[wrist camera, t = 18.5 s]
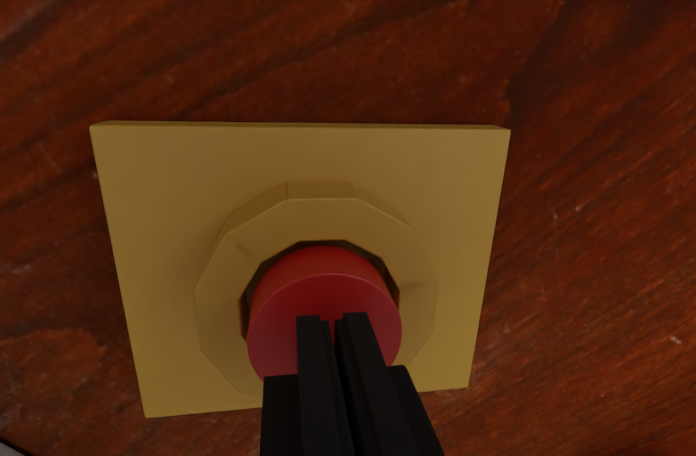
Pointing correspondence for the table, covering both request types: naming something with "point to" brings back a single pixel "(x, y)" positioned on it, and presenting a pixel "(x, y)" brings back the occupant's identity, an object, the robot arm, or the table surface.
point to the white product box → (8, 451)
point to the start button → (316, 304)
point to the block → (292, 238)
